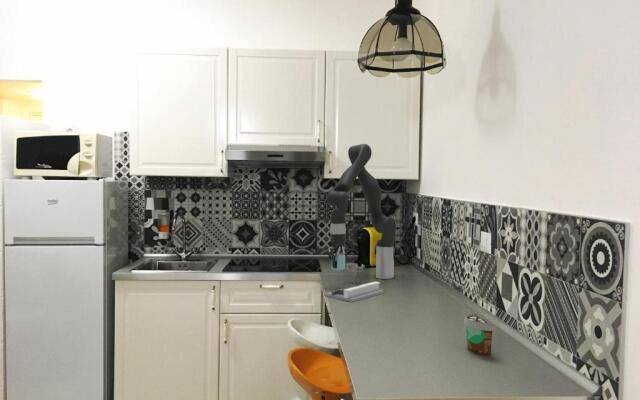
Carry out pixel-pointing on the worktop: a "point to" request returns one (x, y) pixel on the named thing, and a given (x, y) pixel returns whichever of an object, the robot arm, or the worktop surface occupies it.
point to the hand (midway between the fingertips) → (338, 267)
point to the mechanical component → (354, 270)
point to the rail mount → (356, 292)
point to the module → (340, 262)
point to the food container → (478, 334)
